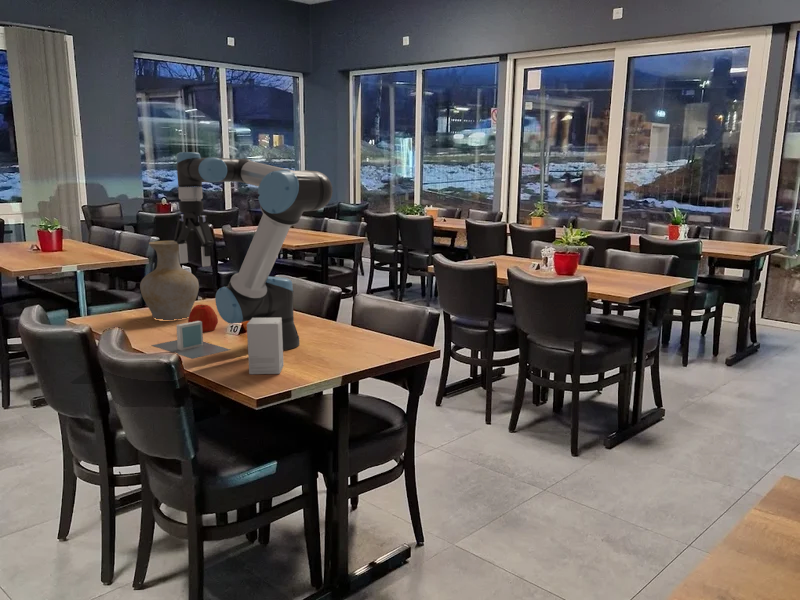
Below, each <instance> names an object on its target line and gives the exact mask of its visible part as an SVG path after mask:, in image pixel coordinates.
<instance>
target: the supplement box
mask: <svg viewBox="0 0 800 600" xmlns="http://www.w3.org/2000/svg"><path fill="white" fill-rule="evenodd" d="M246 334H247V335H246V337H247V354H248V355H247V356H248V359H247V360H248V374H249V375H279V374H281V371H282V370H283V368H284V350H283V340H282V318H252V319H251V320H250V321H247V323H246Z"/></svg>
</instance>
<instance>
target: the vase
mask: <svg viewBox="0 0 800 600" xmlns="http://www.w3.org/2000/svg"><path fill="white" fill-rule="evenodd" d="M148 244H149V246H150V248H152V249H154V250H155V252H156V256H157V258H156V259H157V264H156V267H155V269H154V270H152V271H151V272H149V273H147V274H146V275H145V276H144V277H143V278H142V279H141V281H140V283H139V284H140V285H139V288H140V290H139V291H140V293H141V296H142V299H143V301H144V303H145V304H146V305H147V308H148V310H149V311H150V313H151V315H152V318H153V317H154V318H156V319H163V320H174V319H182V318H187V317H189V315H190V312H191V310H192V309H193V307H194V306H195V301H196V300H197V297H198V294H199V289H200V288H199V287H200V286H199V279H198V278H197V277H196V276H195V275H194V274H193V273H191V272H190V271H188V270H187V269H184V267H182V266H181V263H180V259H179V246H178V243H177V242H175V241H174V240H158V241H150V242H148ZM184 244H186V243H184Z"/></svg>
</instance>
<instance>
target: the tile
mask: <svg viewBox="0 0 800 600" xmlns="http://www.w3.org/2000/svg"><path fill="white" fill-rule="evenodd" d="M175 328H176V340H177V343H178V350H186V349H190V348H195V347H199V346H203V342H204V336H203V333H204V332H203V331H202V322H201V321H195V322H189V323H188V322H183V323H180V324H176V327H175Z"/></svg>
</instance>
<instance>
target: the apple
mask: <svg viewBox="0 0 800 600" xmlns="http://www.w3.org/2000/svg"><path fill="white" fill-rule="evenodd" d="M195 321H201V322H202V331H203V333H208V332H213V331H215V330H216V327H217V325H218V322H219V320H218V316H217V313H216V311H215V310H214V309H213V308H212V307H211V306H210V305H209V304H196V305H194V306H193V307H192V309H191V312H190V315H189V318H188V322H187V323H189V322H195Z"/></svg>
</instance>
